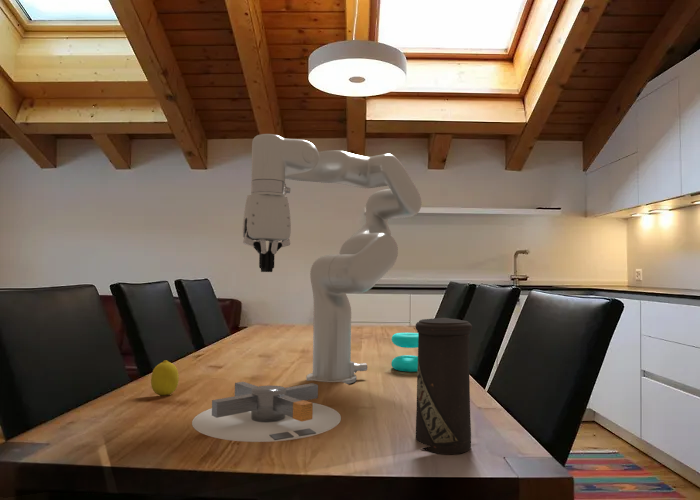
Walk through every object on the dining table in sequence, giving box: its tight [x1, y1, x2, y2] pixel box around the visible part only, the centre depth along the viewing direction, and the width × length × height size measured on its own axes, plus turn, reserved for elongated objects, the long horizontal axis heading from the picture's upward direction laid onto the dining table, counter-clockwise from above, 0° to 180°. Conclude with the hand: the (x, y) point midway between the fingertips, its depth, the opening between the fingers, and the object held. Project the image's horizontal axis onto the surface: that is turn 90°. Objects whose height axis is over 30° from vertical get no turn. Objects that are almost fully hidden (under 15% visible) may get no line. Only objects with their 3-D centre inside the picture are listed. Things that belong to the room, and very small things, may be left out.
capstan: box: [211, 381, 319, 422], centre depth 90 cm, size 22×21×5 cm
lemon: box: [150, 359, 180, 397], centre depth 107 cm, size 6×6×8 cm
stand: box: [191, 401, 342, 443], centre depth 90 cm, size 26×26×1 cm
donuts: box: [390, 332, 418, 373], centre depth 144 cm, size 10×10×10 cm
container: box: [415, 317, 473, 455], centre depth 80 cm, size 9×9×20 cm
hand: (266, 271), depth 113 cm, fingers closed
